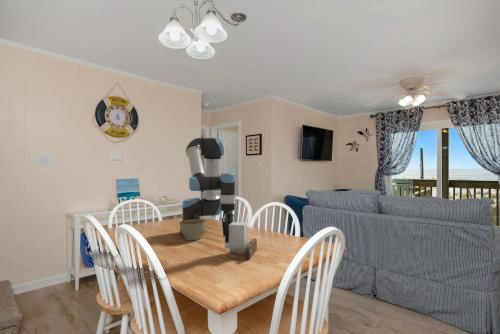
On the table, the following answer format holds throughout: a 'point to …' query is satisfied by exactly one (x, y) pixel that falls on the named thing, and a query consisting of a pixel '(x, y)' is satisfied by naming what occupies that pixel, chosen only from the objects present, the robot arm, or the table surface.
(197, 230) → the planter bowl
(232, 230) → the skincare box
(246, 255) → the bay
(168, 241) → the table surface
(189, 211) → the robot arm
